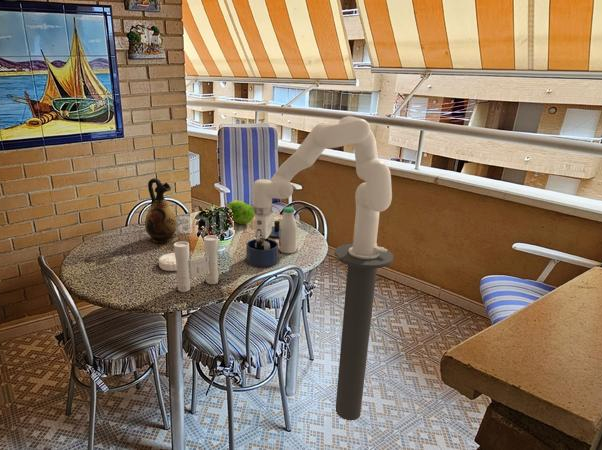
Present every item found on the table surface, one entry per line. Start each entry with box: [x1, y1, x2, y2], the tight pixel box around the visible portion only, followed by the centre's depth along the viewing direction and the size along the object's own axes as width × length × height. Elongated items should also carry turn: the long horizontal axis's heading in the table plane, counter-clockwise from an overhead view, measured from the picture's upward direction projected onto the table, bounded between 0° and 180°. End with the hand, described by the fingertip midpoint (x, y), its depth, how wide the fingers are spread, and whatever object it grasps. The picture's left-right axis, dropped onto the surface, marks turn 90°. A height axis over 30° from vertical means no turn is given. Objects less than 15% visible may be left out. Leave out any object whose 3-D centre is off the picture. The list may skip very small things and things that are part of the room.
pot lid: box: [269, 220, 281, 238], centre depth 203 cm, size 14×14×6 cm
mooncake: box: [158, 252, 177, 272], centre depth 171 cm, size 12×12×4 cm
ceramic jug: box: [144, 177, 178, 244], centre depth 195 cm, size 17×15×30 cm
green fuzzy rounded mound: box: [226, 199, 256, 225], centre depth 220 cm, size 13×23×12 cm, turn 25°
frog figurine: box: [255, 239, 270, 250], centre depth 172 cm, size 6×7×7 cm
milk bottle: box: [278, 206, 298, 254], centre depth 180 cm, size 8×8×20 cm
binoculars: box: [173, 234, 220, 293], centre depth 151 cm, size 17×5×18 cm, turn 118°
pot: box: [245, 238, 279, 268], centre depth 173 cm, size 13×13×8 cm
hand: (262, 250), depth 172 cm, fingers closed on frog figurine, 6 cm apart
